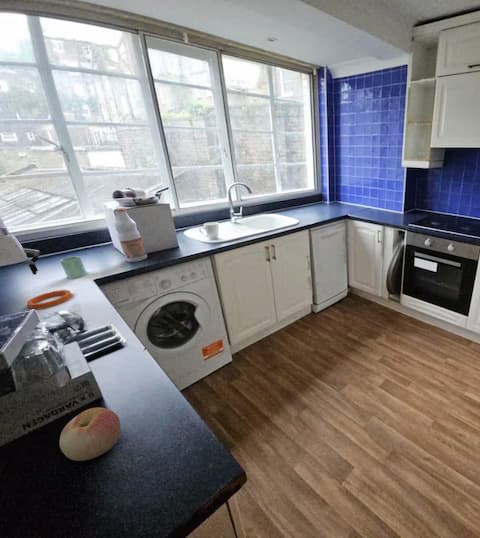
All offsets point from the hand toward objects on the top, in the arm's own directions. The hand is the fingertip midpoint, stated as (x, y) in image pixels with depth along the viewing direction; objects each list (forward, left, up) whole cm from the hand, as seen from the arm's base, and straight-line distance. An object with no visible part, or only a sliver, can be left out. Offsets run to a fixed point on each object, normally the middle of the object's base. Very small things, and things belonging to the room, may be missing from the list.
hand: (17, 277), depth 110 cm
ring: (+5, 0, -13) cm, 14 cm away
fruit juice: (+39, +32, -13) cm, 52 cm away
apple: (+13, -96, -13) cm, 97 cm away
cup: (+14, +27, -13) cm, 33 cm away
